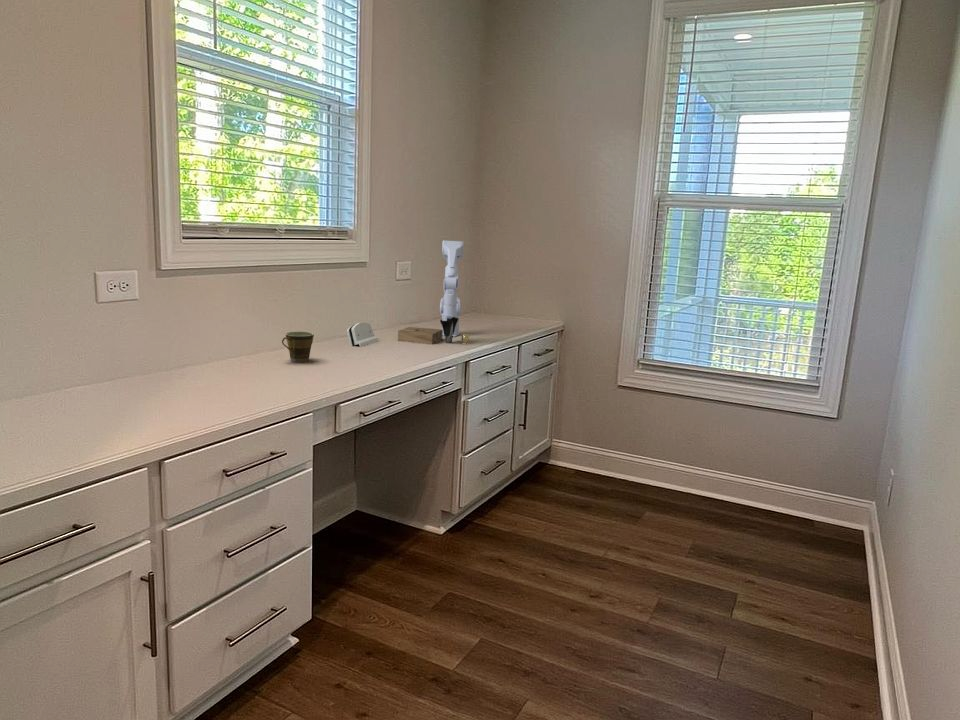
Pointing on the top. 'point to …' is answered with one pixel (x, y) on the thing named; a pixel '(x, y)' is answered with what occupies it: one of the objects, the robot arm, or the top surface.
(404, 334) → the hole block
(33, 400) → the top surface
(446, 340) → the tall pin
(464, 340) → the short pin
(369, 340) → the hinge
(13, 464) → the top surface
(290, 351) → the ceramic cup
